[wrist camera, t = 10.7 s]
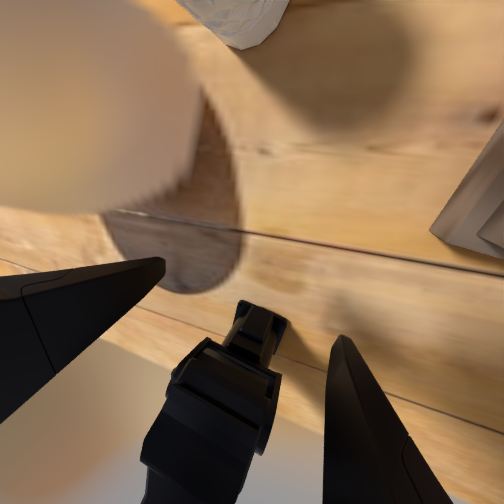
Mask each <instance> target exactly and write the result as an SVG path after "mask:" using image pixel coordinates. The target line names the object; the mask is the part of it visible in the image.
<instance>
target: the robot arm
mask: <svg viewBox="0 0 504 504" xmlns="http://www.w3.org/2000/svg"><path fill="white" fill-rule="evenodd" d="M165 273H166V261H165V259H163V258H161V257H151V258H143V259H136V260H129V261H122V262H115V263H108V264H101V265H94V266H86V267H79V268H75V269H74V268H72V269H65V270H57V271H50V272H41V273H31V274H21V275H11V276H0V424H1V423H2V422H3V421H4V420H6V419H7V418H8V417H9V416H10V415H11V414H13V413H14V412H15V411H16V410H17V409H18V408H19V407H20V406H21V405H23V404H24V403H25V402H26V401H27V400H28V399H29V398H31V397H32V396H33V395H34V394H35V393H36V392H38V391H39V390H40V389H41V388H42V387H43V386H44V385H45V384H46V383H48V382H49V381H50V380H51V379H52V378H53V377H55V376H56V374H57V373H59V372H60V371H61V370H62V369H63V368H64V367H66V366H67V365H68V364H69V363H70V362H71V361H72V360H74V359H75V358H76V357H77V356H78V355H79V354H80V353H81V352H82V351H84V350H85V349H86V348H87V347H88V346H89V345H91V344H92V343H93V342H94V341H95V340H96V339H98V338H99V337H100V336H101V335H102V334H103V333H104V332H105V331H107V330H108V329H109V328H110V327H111V326H112V325H113V324H115V323H116V322H117V321H118V320H119V319H120V318H121V317H123V316H124V315H125V314H126V313H127V312H128V311H129V310H130V309H132V308H133V307H134V306H135V305H136V304H137V303H138V302H140V301H141V300H142V299H143V298H144V297H145V296H146V295H147V294H148V293H149V292H150V291H151V290H152V289H153V287H154V286H155V285H156V284H157V283H158V282H159V281H160V280H161V279H162V278H163V277H164V275H165ZM242 304H243V305H242ZM283 322H284V323H283ZM286 326H287V320H286V319H285V318H283V317H280V316H278V315H276V314H273V313H271V312H269V311H267V310H264V309H262V308H260V307H257V306H255V305H253V304H250V303H248V302H246V301H244V300H240V301H239V302H238V305H237V309H236V314H235V318H234V322H233V326H232V328H231V330H230V331H229V333H228V335H227V336H226V338H225V339H224V341H223V343H222V344H221V345H220V344H219V343H217V342H215V341H213V340H211V338H209V337H206V338H205V339H204V340H203V341H201V342H200V343H199V344H198V345H197V346H196V347H195V348H194V349H193V350H192V351H191V352H190V353H189V354H188V355H187V356H186V357H185V358H184V359H183V360H182V361H181V362H180V363H179V364H178V366H177V367H176V368H174V369H173V371H172V373H171V380H170V382H169V385H168V387H167V390H166V395H165V396H166V398H167V400H166V402H165V403H164V405H163V407H162V409H161V411H160V413H159V415H158V416H157V418H156V420H155V421H154V423H153V425H152V426H151V428H150V430H149V431H148V434H147V435H146V437H145V439H144V442H143V446H142V451H141V456H140V461H141V462H142V463H143V464H145V465H146V466H147V479H146V490H145V495H144V498H143V500H142V502H141V504H235V502H236V500H237V497H238V495H239V493H240V492H241V490H242V488H243V485H244V483H245V479H246V476H247V473H248V470H249V467H250V464H251V461H252V458H253V455H254V452H255V453H257V454H259V455H260V456H262V454H263V452H264V450H265V447H266V445H267V442H268V439H269V436H270V433H271V429H272V426H273V422H274V418H275V414H276V409H277V403H278V397H279V391H280V385H281V379H282V374H280V373H278V372H277V373H276V372H274V371H272V370H270V369H268V367H269V364H270V361H271V358H272V355H274V354H275V352H276V350H277V348H278V345H279V343H280V340H281V338H282V336H283V333H284V331H285V328H286ZM408 435H409V433H408V432H407V430H406V428H405V427H404V425H403V423H402V422H401V420H400V418H399V417H398V415H397V413H396V412H395V410H394V409H393V407H392V405H391V404H390V402H389V400H388V399H387V397H386V395H385V394H384V392H383V390H382V389H381V387H380V385H379V384H378V382H377V381H376V379H375V377H374V376H373V374H372V372H371V371H370V369H369V367H368V366H367V364H366V362H365V361H364V359H363V358H362V356H361V354H360V353H359V351H358V349H357V348H356V346H355V344H354V343H353V341H352V340H351V338H349V337H347V336H345V335H342V334H341V335H339V336H338V338H337V339H336V341H335V343H334V344H333V346H332V348H331V353H330V360H329V367H328V374H327V380H326V391H325V427H324V464H323V465H324V466H323V502H322V503H323V504H453V502H452V501H451V499H450V498H449V496H448V495H447V493H446V492H445V490H444V489H443V487H442V486H441V484H440V483H439V481H438V480H437V478H436V477H435V475H434V473H433V472H432V470H431V469H430V467H429V465H428V464H427V462H426V461H425V459H424V458H423V456H422V454H421V453H420V451H419V449H418V448H417V446H416V445H415V443H414V441H413V440H412V438H411V437H410V436H408Z"/></svg>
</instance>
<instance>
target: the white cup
mask: <svg viewBox="0 0 504 504" xmlns="http://www.w3.org/2000/svg"><path fill="white" fill-rule="evenodd" d="M175 1H176V2H177V3H178V4H179V5H180V6H181V7H183V8H184V9H185V10H186V11H188V12H189V13H190V14H191V15H192V16H193V17H194V18H195V19H196V20H197V21H198V22H200V23H201V24H202V25H204V26H205V27H207V28H208V29H210V30H211V31H212V32H213V33H214V34H215V35H216V36H217V37H218V38H219V39H220V40H221V41H222V42H223V43H224V44H226V45H229V46H232V47H234V48H237V49H240V50H243V49H246V48H250V47H253V46H256V45H259V44H261V43H262V42H263V41H264V40H265V39H266V38H267V37H268V36H269V35H270V34H271V33H272V32H273V31H274V30H275V29H276V27H277V26H278V24H279V22H280V20H281V18H282V15H283V13H284V11H285V9H286V7H287V5H288V3H289V0H175Z"/></svg>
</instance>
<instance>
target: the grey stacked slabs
mask: <svg viewBox="0 0 504 504" xmlns="http://www.w3.org/2000/svg"><path fill="white" fill-rule="evenodd" d="M429 231H431V232H432V233H433V234H435V235H436V236H438V237H439V238H441V239H442V240H444V241H445V242H446V243H449V244H452V245H456V246H459V247H462V248H466V249H469V250H473V251H476V252H480V253H483V254H487V255H490V256H493V257H497V258H500V259H504V120H503V122H502V123H501V124H500V126H499V127H498V129H497V130H496V132H495V133H494V135H493V136H492V138H491V139H490V141H489V142H488V144H487V145H486V147H485V148H484V150H483V151H482V152H481V154H480V155H479V157H478V158H477V160H476V161H475V163H474V164H473V166H472V167H471V169H470V170H469V172H468V173H467V175H466V176H465V178H464V179H463V180H462V182H461V183H460V185H459V186H458V188H457V189H456V191H455V192H454V194H453V195H452V197H451V198H450V200H449V201H448V203H447V204H446V205H445V207H444V208H443V210H442V211H441V213H440V214H439V216H438V217H437V219H436V220H435V222H434V223H433V225H432V226H431V228H430V229H429Z"/></svg>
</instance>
